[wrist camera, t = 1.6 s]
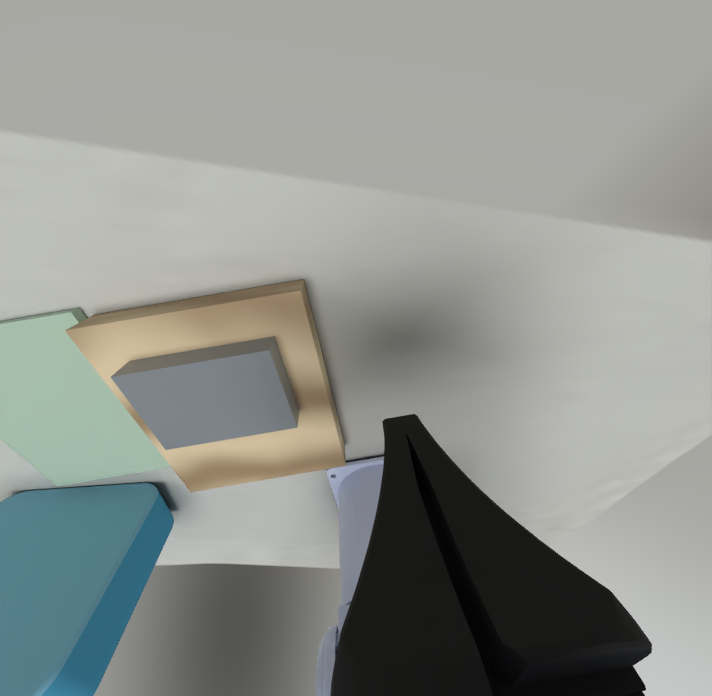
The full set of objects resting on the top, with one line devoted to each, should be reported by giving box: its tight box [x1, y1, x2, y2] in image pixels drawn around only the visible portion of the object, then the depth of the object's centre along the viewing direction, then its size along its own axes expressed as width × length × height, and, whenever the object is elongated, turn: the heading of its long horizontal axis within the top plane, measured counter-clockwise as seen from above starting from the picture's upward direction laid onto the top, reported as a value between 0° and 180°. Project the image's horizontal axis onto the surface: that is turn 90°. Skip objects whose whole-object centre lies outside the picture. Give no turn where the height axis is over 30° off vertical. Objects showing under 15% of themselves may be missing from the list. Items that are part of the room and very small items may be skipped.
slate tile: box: [111, 336, 300, 450], centre depth 16 cm, size 6×8×2 cm
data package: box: [0, 483, 174, 696], centre depth 18 cm, size 12×4×12 cm, turn 89°
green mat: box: [0, 308, 171, 486], centre depth 18 cm, size 13×10×1 cm
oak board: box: [65, 279, 346, 492], centre depth 18 cm, size 14×12×2 cm
